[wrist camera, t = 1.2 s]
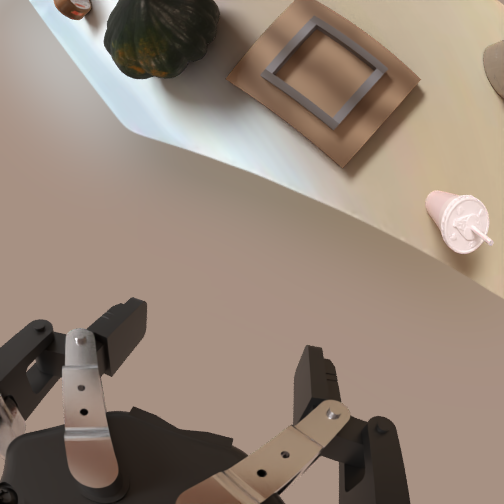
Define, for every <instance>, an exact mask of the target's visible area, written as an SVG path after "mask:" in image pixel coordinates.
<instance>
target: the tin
mask: <svg viewBox="0 0 504 504" xmlns="http://www.w3.org/2000/svg"><path fill="white" fill-rule="evenodd" d="M54 4H55V6H56V8H57V9H58V10H59V11H60V12H61V13H62V14H63V15H65V16H66V17H68V18H70V19H73V20H80V19H82V18H83V17H84V16H85V15H86V14H87V13H88V12H89V11H90V10H91V7H92V6H91V2H90V0H54Z"/></svg>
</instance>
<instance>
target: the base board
mask: <svg viewBox="0 0 504 504" xmlns="http://www.w3.org/2000/svg"><path fill="white" fill-rule="evenodd" d="M226 80H228V81H229V82H231V83H232V84H234V85H235V86H237V87H238V88H240V89H241V90H243V91H244V92H246V93H247V94H249V95H250V96H252V97H253V98H255V99H256V100H257V101H259V102H260V103H262V104H263V105H265V106H266V107H267V108H269V109H270V110H271V111H273V112H274V113H275V114H277V115H278V116H280V117H281V118H282V119H284V120H285V121H286V122H287V123H289V124H290V125H291V126H293V127H294V128H295V129H296V130H298V131H299V132H300V133H301V134H303V135H304V136H305V137H306V138H308V139H309V140H310V141H311V142H313V143H314V144H315V145H316V146H317V147H319V148H320V149H321V150H322V151H323V152H324V153H326V154H327V155H328V156H329V157H330V158H331V159H332V160H334V161H335V162H336V163H337V164H338V165H339V166H340V167H341V168H343V167H344V166H345V165H346V164H347V163H348V162H349V161H350V159H351V158H352V157H353V156H354V155H355V154H356V153H357V152H358V150H359V149H360V148H361V147H362V146H363V145H364V144H365V143H366V141H367V140H368V139H369V138H370V137H371V136H372V135H373V134H374V132H375V131H376V130H377V129H378V128H379V127H380V126H381V125H382V123H383V122H384V121H385V120H386V119H387V118H388V117H389V115H390V114H391V113H392V112H393V111H394V110H395V109H396V108H397V106H398V105H399V104H400V103H401V102H402V101H403V100H404V98H405V97H406V96H407V95H408V94H409V93H410V92H411V90H412V89H413V88H414V87H415V86H416V85H417V83H418V82H419V81H420V80H421V79H420V78H419V77H418V76H417V75H416V74H415V73H414V72H413V71H411V70H410V69H409V68H408V67H407V66H406V65H405V64H404V63H403V62H402V61H400V60H399V59H398V58H397V57H396V56H395V55H394V54H392V53H391V52H390V51H389V50H388V49H386V48H385V47H384V46H383V45H381V44H380V43H379V42H378V41H376V40H375V39H374V38H372V37H371V36H370V35H368V34H367V33H366V32H364V31H363V30H362V29H360V28H359V27H357V26H356V25H354V24H353V23H351V22H350V21H349V20H347V19H346V18H344V17H342V16H341V15H339V14H338V13H336V12H335V11H333V10H331V9H330V8H328V7H326V6H325V5H323V4H321V3H319V2H318V1H316V0H295V1H294V2H293V3H292V4H291V5H290V6H289V7H288V8H287V9H286V10H285V11H284V12H283V13H282V14H281V15H280V16H279V17H278V18H277V19H276V20H275V21H274V22H273V23H272V24H271V25H270V26H269V28H268V29H267V30H266V31H265V32H264V33H263V34H262V35H261V36H260V38H259V39H258V40H257V41H256V42H255V43H254V44H253V46H252V47H251V48H250V49H249V50H248V51H247V53H246V54H245V55H244V56H243V57H242V59H241V60H240V61H239V62H238V64H237V65H236V66H235V67H234V69H233V70H232V71H231V72H230V74H229V75H228V76H227V78H226Z"/></svg>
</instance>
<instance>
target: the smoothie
mask: <svg viewBox="0 0 504 504" xmlns="http://www.w3.org/2000/svg"><path fill="white" fill-rule="evenodd" d="M425 206H426V210H427V212H428V213H429V215H430V216H431V218H432V219H433V220H434V222H435V223H436V225H437V226H438V228H439V229H440V231H441V234H442V237H443V240H444V241H445V243H446V244H447V246H448V247H450V248H451V249H452V250H453V251H455V252H457V253H459V254H468V253H471V252H473V251H475V250H476V249H477V248H479V247H480V246H481V244H482V243H483V242H484V241H485V242H486V243H488V244H489V245H490V246H492V245H493V240H491V239H490V238H489V237H488V236H487V233H488V229H489V215H488V211H487V209H486V207H485V206H484V204H483V203H482V202H481V201H480V200H478V199H477V198H475V197H473V196H471V195H462V196H460V195H456V194H452V193H447V192H443V191H439V190H435V191H432V192H431V193H430V194H429V195H428V196H427V198H426V202H425Z"/></svg>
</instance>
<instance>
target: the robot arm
mask: <svg viewBox="0 0 504 504" xmlns="http://www.w3.org/2000/svg"><path fill="white" fill-rule="evenodd" d="M483 61H484V67H485V71H486V74H487V77H488V79H489V81H490V83H491V84H492V86H493V87H494V89H495V90H496V91H497V93H498V94H499V95H500V96H501V97H502V98H504V40H502V41H500V42H497V43H495V44H493V45H490V46H489V47H487V48H486V50H485V52H484V57H483ZM146 318H147V303H146V302H145V301H142V300H139V299H136V298H130V299H129V300H128V301H127V302H126V303H125V304H122V303H120V304H118V305H115V306H113V307H111V308H110V309H109V310H108V311H107V312H106V313H105V314H103V315H102V317H100V318H99V319H98V320H96V321H95V322H94V323H93V324H92V325H91V326H89V327H88V328H87V329H81V328H79V329H74V330H71V331H70V332H69V333H68V334H67V335H66V334H62V333H57V332H54V331H53V326H52V324H51V323H50V322H49V321H47V320H35V321H32V322H31V323H29V324H28V325H27V326H26V327H24V329H22V330H21V331H20V332H19V333H17V334H16V335H15V336H14V337H12V338H11V339H10V340H9V341H8V342H7V343H5V344H4V345H3V346H2V347H1V348H0V457H1V458H2V459H4V460H5V466H4V471H3V475H2V478H1V481H0V504H285V503H284V502H283V500H282V499H281V497H280V495H281V494H283V493H284V492H285V491H286V490H287V489H288V488H289V487H290V486H291V485H292V484H293V483H294V482H295V481H296V480H297V479H298V478H299V477H300V476H302V475H303V474H304V473H305V472H306V471H307V470H308V469H309V468H310V467H311V466H312V465H313V464H314V463H315V462H316V461H317V460H318V459H319V458H320V457H321V456H324V457H327V458H330V459H332V460H335V461H338V462H339V504H410V498H409V492H408V485H407V479H406V474H405V468H404V463H403V458H402V453H401V448H400V444H399V439H398V435H397V430H396V427H395V425H394V424H393V423H392V421H390V420H389V419H387V418H385V417H381V416H376V417H373V418H371V419H370V420H369V421H368V422H366V421H362V420H360V419H357V418H354V417H352V416H351V415H350V411H349V409H348V408H347V407H346V406H345V405H344V404H343V403H341V398H340V392H339V386H338V382H337V376H336V370H335V366H334V365H333V363H332V362H331V361H330V360H329V359H324V357H323V351H322V348H320V347H315V346H310V345H306V347H305V349H304V352H303V354H302V356H301V359H300V361H299V364H298V366H297V369H296V372H295V377H294V413H293V414H294V415H293V417H294V418H293V425H290V426H289V427H287V428H286V429H284V430H283V431H282V432H281V433H279V434H278V435H277V436H275V437H274V438H273V439H272V440H270V441H269V442H267V443H266V444H265V445H263V446H262V447H261V448H259V449H258V450H256V451H255V452H253V453H252V454H251V455H249V456H248V455H247V454H246V453H244V452H243V451H242V450H240V449H238V448H236V447H234V446H232V442H233V438H229V437H225V436H221V435H217V434H212V433H209V432H201V431H190V430H182V429H178V428H176V427H175V426H173V425H171V424H169V423H168V422H166V421H164V420H163V419H161V418H159V417H158V416H156V415H154V414H151V413H149V412H146V411H143V410H141V409H139V408H136V407H133V408H132V409H131V411H130V412H123V411H111V412H107V409H106V404H105V399H104V393H103V388H102V382H101V376H102V375H103V374H104V373H105V374H107V375H109V376H111V377H112V376H113V374H114V373H115V372H116V371H117V370H118V368H119V367H120V366H121V365H122V363H123V362H124V361H125V360H126V358H127V357H128V356H129V355H130V353H131V352H132V351H133V350H134V348H135V347H136V346H137V345H138V343H139V342H140V341H141V340H142V338H143V337H144V334H145V332H146V320H147V319H146ZM34 360H36V363H35V364H34V365H33V366H32V367H31V368H30V369H29V370H28V371H27V372H26V370H27V367H28V366H29V365H30V364H31V363H32V362H33V361H34ZM60 377H62V386H63V387H62V389H63V409H64V422H65V424H64V425H60V426H56V427H52V428H48V429H44V430H39V431H35V432H30V433H26V434H24V432H25V430H26V424H25V421H26V420H27V418H28V417H29V416H30V414H31V413H32V412H33V411H34V409H35V408H36V407H37V405H38V404H39V403H40V402H41V400H42V399H43V398H44V397H45V396H46V394H47V393H48V392H49V391H50V389H51V388H52V387H53V386H54V384H55V383H56V382H57V381H58V379H60Z"/></svg>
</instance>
